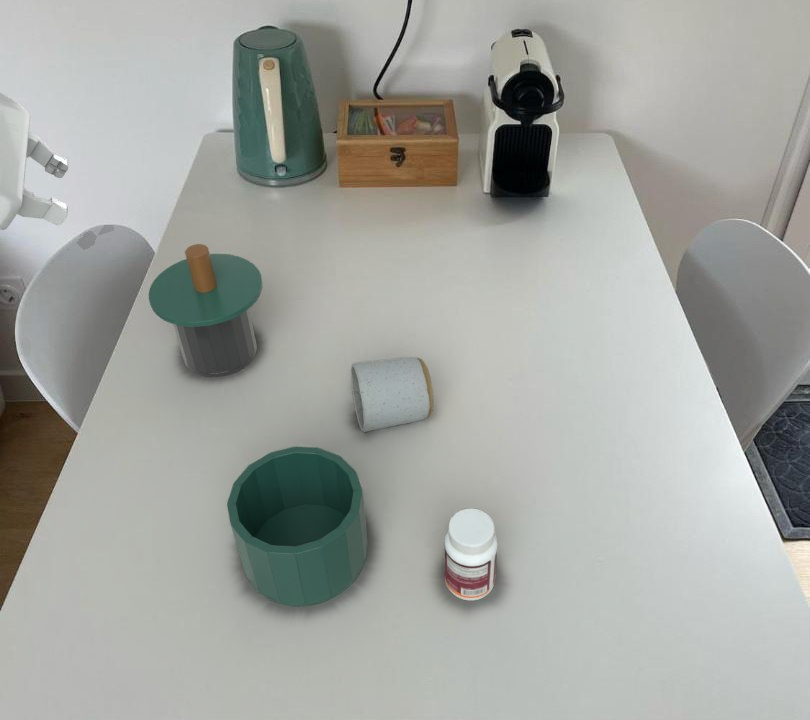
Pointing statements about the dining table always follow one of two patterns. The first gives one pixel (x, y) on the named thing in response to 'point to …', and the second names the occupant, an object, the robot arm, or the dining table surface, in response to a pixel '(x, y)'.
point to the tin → (299, 525)
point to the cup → (218, 346)
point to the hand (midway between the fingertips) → (65, 192)
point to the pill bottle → (470, 554)
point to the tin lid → (205, 288)
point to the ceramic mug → (391, 392)
